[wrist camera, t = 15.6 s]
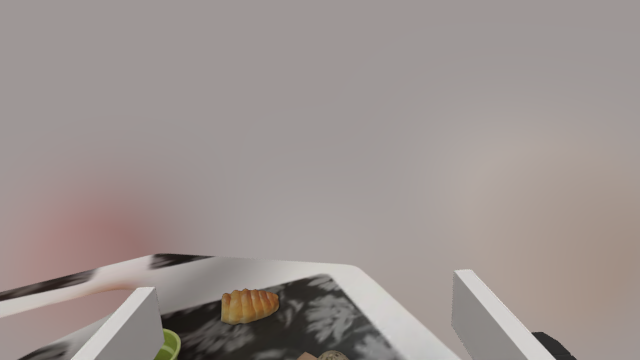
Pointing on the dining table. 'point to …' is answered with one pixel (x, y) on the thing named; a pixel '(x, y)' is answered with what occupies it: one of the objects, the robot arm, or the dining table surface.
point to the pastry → (247, 306)
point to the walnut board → (307, 357)
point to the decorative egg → (332, 356)
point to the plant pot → (169, 346)
